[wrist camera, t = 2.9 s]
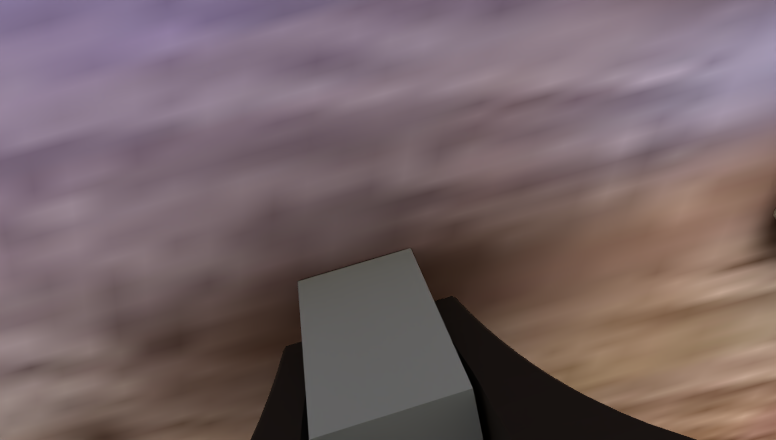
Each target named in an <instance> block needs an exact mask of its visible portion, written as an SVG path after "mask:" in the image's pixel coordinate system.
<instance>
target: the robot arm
mask: <svg viewBox="0 0 776 440" xmlns="http://www.w3.org/2000/svg"><path fill="white" fill-rule="evenodd" d="M435 304H436V307H437V309H438V311H439V313H440V316H441V318H442V320H443V322H444V325H445V327H446V329H447V331H448V334H449V336H450V338H451V340H452V343H453V345H454V347H455V349H456V352H457V354H458V356H459V358H460V361H461V363H462V365H463V367H464V370H465V372H466V374H467V376H468V379H469V381H470V383H471V385H472V388H473V392H474V397H475V402H476V406H477V411H478V416H479V421H480V426H481V431H482V436H483V440H696V439H693V438H690V437H687V436H684V435H681V434H678V433H675V432H672V431H669V430H666V429H663V428H660V427H657V426H654V425H651V424H648V423H646V422H643V421H641V420H638V419H636V418H633V417H631V416H628V415H626V414H623V413H621V412H619V411H617V410H615V409H613V408H611V407H608V406H606V405H604V404H602V403H600V402H598V401H596V400H594V399H592V398H590V397H587V396H585V395H584V394H582V393H580V392H578V391H576V390H574V389H573V388H571V387H569V386H567V385H565V384H564V383H562V382H560V381H559V380H557V379H555V378H554V377H552V376H550V375H549V374H547V373H546V372H544V371H543V370H541V369H540V368H538V367H537V366H535V365H534V364H532V363H531V362H529V361H528V360H527V359H525V358H524V357H522V356H521V355H520V354H518V353H517V352H516V351H514V350H513V349H512V348H510V347H509V346H508V345H506V344H505V343H504V342H503V341H502V340H500V339H499V338H498V337H497V336H495V335H494V334H493V333H492V332H491V331H489V330H488V329H487V328H486V327H485V326H484V325H483V324H482V323H481V322H479V321H478V320H477V319H476V318H475V317H474V316H473V315H472V314H471V313H470V312H469V311H468V310H467V309H466V308H465V307H464V306H463V305H462V304H461V303H460V302H459V300H458V299H457V298H455V297H453V296H451V297H448V298H445V299H441V300H438V301H435ZM251 440H309V431H308V417H307V403H306V389H305V375H304V362H303V348H302V342H299V343H296V344H292V345H289V346H286V348H285V349H284V351H283V354H282V357H281V361H280V364H279V367H278V371H277V374H276V377H275V380H274V383H273V386H272V389H271V391H270V394H269V397H268V399H267V402H266V404H265V407H264V410H263V412H262V415H261V417H260V420H259V422H258V424H257V427H256V429H255V431H254V433H253V435H252V438H251Z"/></svg>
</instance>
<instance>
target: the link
mask: <svg viewBox="0 0 776 440" xmlns="http://www.w3.org/2000/svg"><path fill="white" fill-rule="evenodd" d="M298 292H299V306H300V320H301V334H302V348H303V362H304V375H305V389H306V403H307V417H308V431H309V440H483V436H482V431H481V426H480V421H479V416H478V411H477V406H476V402H475V397H474V392H473V388H472V385H471V383H470V381H469V379H468V376H467V374H466V372H465V370H464V367H463V365H462V363H461V361H460V358H459V356H458V354H457V352H456V349H455V347H454V345H453V343H452V340H451V338H450V336H449V334H448V331H447V329H446V327H445V325H444V322H443V320H442V318H441V316H440V313H439V311H438V309H437V307H436V304H435V302H434V300H433V298H432V295H431V293H430V291H429V288H428V286H427V284H426V282H425V279H424V277H423V275H422V273H421V270H420V268H419V266H418V264H417V261H416V259H415V257H414V255H413V252H412V250H411V248H409V249H406V250H402V251H399V252H396V253H392V254H389V255H386V256H382V257H379V258H375V259H372V260H369V261H365V262H362V263H358V264H355V265H352V266H348V267H345V268H341V269H338V270H335V271H331V272H328V273H325V274H321V275H318V276H314V277H311V278H308V279H304V280H301V281H298Z"/></svg>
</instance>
